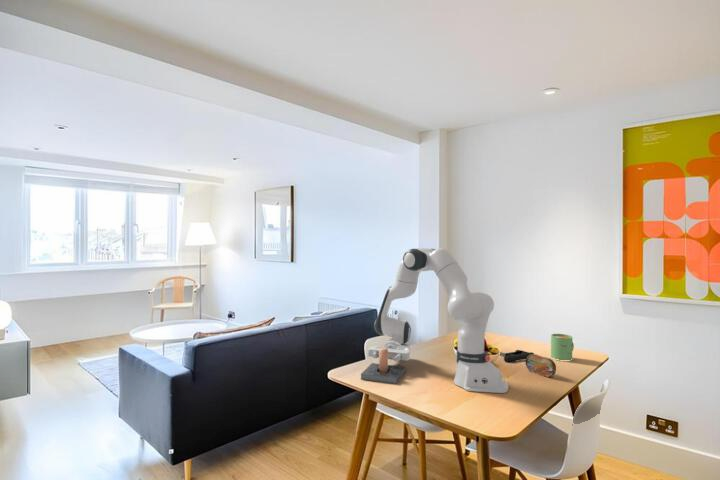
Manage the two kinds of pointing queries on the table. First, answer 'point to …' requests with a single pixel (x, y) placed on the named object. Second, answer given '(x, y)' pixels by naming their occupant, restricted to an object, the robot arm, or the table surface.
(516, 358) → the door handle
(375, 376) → the socket plate
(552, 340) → the mug
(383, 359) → the pin
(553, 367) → the tin
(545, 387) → the table surface
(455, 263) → the robot arm
